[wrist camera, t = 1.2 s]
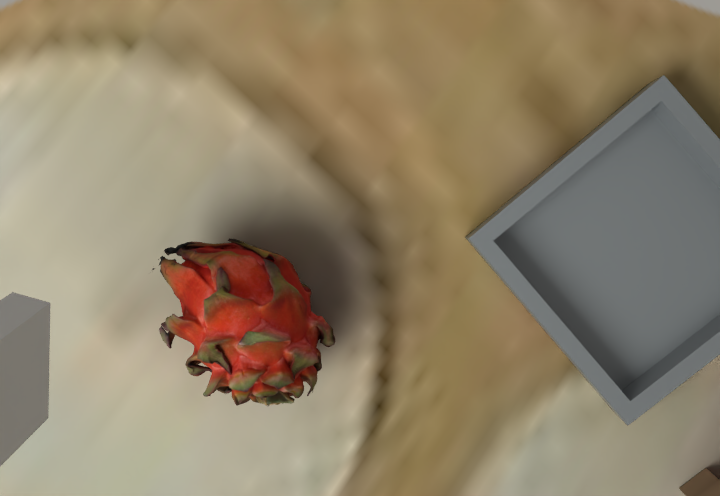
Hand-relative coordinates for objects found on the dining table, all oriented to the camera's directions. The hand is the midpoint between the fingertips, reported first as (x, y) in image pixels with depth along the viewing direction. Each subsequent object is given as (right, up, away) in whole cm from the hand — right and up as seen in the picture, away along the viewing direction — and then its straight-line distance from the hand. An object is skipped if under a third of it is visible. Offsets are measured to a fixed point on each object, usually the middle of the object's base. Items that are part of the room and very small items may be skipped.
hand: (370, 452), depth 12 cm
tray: (+16, +4, +27) cm, 31 cm away
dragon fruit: (-7, 0, +29) cm, 30 cm away
